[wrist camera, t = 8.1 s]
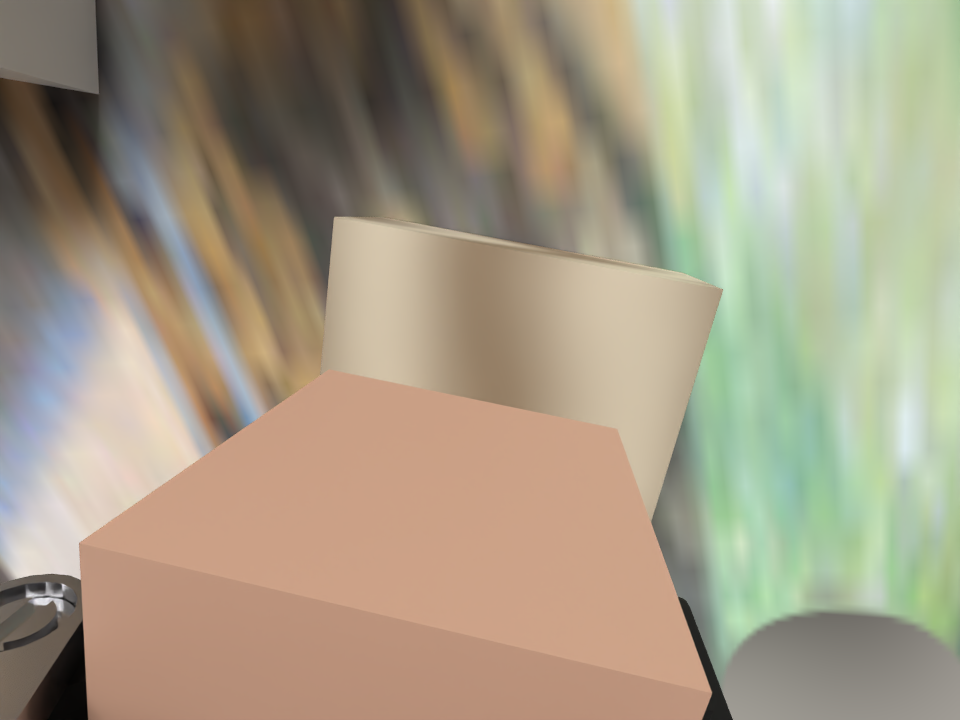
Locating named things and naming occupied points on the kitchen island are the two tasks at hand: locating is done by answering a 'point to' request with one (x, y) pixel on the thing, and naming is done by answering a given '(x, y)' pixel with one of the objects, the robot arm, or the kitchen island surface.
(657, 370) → the maple base block
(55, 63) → the pale grey cube
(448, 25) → the kitchen island surface
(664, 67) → the kitchen island surface
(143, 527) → the terracotta cube
